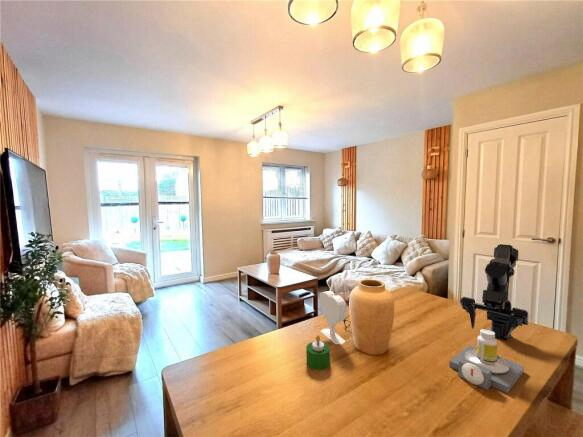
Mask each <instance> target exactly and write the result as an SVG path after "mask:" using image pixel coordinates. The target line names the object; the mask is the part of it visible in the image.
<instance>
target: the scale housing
mask: <svg viewBox="0 0 583 437" xmlns="http://www.w3.org/2000/svg"><path fill="white" fill-rule="evenodd" d="M470 350H477V346H476V347H475V346H472V345H470V344H469V345H467V347H465V348H463V350H461V351H460V352H458V354H456V355H454V357H452V358H451V359H450V360H449V367H450V368H452V369H454V370H457V371H458V374H457V376H458V377H459V378H462V379H463V380H466V381H468V382H469V383H471V384H473V385H477V386H478V387H481V388H482V389H485V390H487V391H488V390H489V389H490V387H493V388H494V389H497V390H498V391H502V392H503V393H506V394H508V393H509V392H510V391H511V389H512V388H513V387H514V385H515V384H516V383H517V382H518V380H519V378H520V377H521V376H522V375H523V374H524V372H525V365H523V364H520V363H517V362H514V361H511V360H509V359H507V358H505V357H504V358H503V357H502V356H500V357H501V358H502V359H504V360H505V361H506V362H507V363H508V364H509V371H508V372H507V373H505V374H493V373H492V370H490V369H488V368H485V367H483V366H481V365H478V364H476V363H474V362H471V361H469V360H467V359H465V353H466V352H467V351H470Z"/></svg>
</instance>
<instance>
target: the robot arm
mask: <svg viewBox="0 0 583 437" xmlns="http://www.w3.org/2000/svg"><path fill="white" fill-rule="evenodd" d="M519 256H520V253H519V250H518V248H517V249H516V248H515V247H514V246H513V245H512V244H505V243H504V244H502V243H500V244H497V246H496V247H494V249H493V258H492V259H490V261H489V263H487V264H486V266H485V267H484V272H485V273H484V274H485V276H486V280H487V286H486V289H483V290H482V295H481V296H482V297H481V299H482V300H481V301H482V303H483V304H482V303H477V302H476V300H475V298H472V297H467V296H463V297H461V298H460V306H461V307H462V310H464V311H465V312H466V313H468V314H469V319H470V320H469V321H470V326H471V329H473V330H474V329H475V324H476V323H475V322H476V315H477V313H476V309H477V310H481V311H485V312H486V320H488V321H490V323H491V324H490V325H491V328H490V330H491V331H493V332H494V333H495V338H499V339H501V340H504V341H508V340H509V339H510V338H511V337H512V333H513V331H514V330H515V329H517V328H518V327H523V325H525V326H528V325H529V318H530V317H529V312H528V311H527V309H522V308H518V307H512V303H511V302H510V300H509V296H510V294H509V292H510V282H511V281H510V280H511V278H512V277H513V276H515V269H514V268H515V267H516V265H517V262H518V261H519Z"/></svg>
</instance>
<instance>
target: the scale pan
mask: <svg viewBox="0 0 583 437" xmlns="http://www.w3.org/2000/svg"><path fill="white" fill-rule="evenodd" d="M501 357H502V356H499V355H497V361H496V363H495V364H486V363H484V362H481V361H480V360H478V358H477V350H470V351H467V352H466V353H465V359H467V360H469V361H471V362H474V363H476V364H478V365H481V366H483V367H485V368H488V369H490V370H492V373H493V374H505V373H507V372H508V371H509V364H508V363H507V362H506V361H505V360H504V359H505V358H504V359H502V358H503V357H502V358H501Z"/></svg>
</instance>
